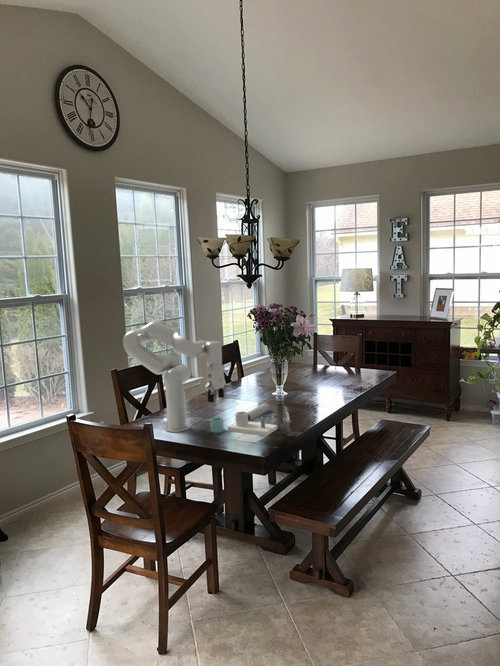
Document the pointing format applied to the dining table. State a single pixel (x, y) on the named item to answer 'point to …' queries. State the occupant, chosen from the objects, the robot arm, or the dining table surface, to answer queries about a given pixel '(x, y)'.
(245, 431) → the pin board
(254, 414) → the tube
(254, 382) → the dining table surface
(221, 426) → the sleeve teal
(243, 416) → the sleeve grey
